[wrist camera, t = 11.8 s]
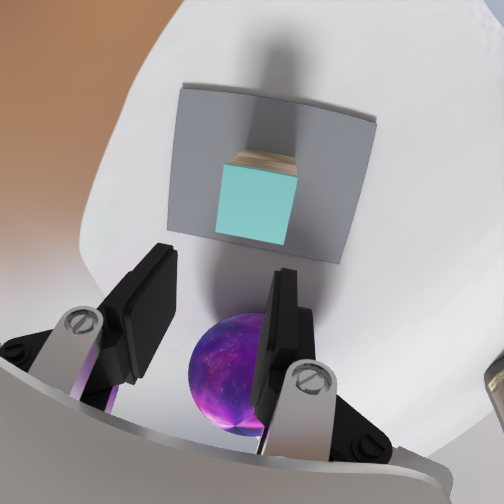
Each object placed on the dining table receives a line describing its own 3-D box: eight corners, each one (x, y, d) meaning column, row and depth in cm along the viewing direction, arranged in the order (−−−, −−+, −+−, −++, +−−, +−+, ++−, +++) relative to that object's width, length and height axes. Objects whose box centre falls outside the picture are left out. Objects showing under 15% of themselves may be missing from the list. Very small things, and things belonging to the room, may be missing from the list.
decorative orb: (208, 277, 36) (167, 368, 23) (328, 300, 35) (342, 398, 22) (203, 358, 43) (175, 440, 29) (298, 376, 42) (296, 461, 29)
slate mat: (375, 123, 26) (377, 124, 25) (338, 261, 33) (338, 264, 32) (182, 89, 26) (180, 88, 26) (168, 228, 33) (167, 230, 33)
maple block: (294, 157, 28) (297, 178, 19) (285, 204, 30) (283, 245, 21) (244, 148, 28) (223, 164, 19) (237, 195, 30) (215, 231, 21)
